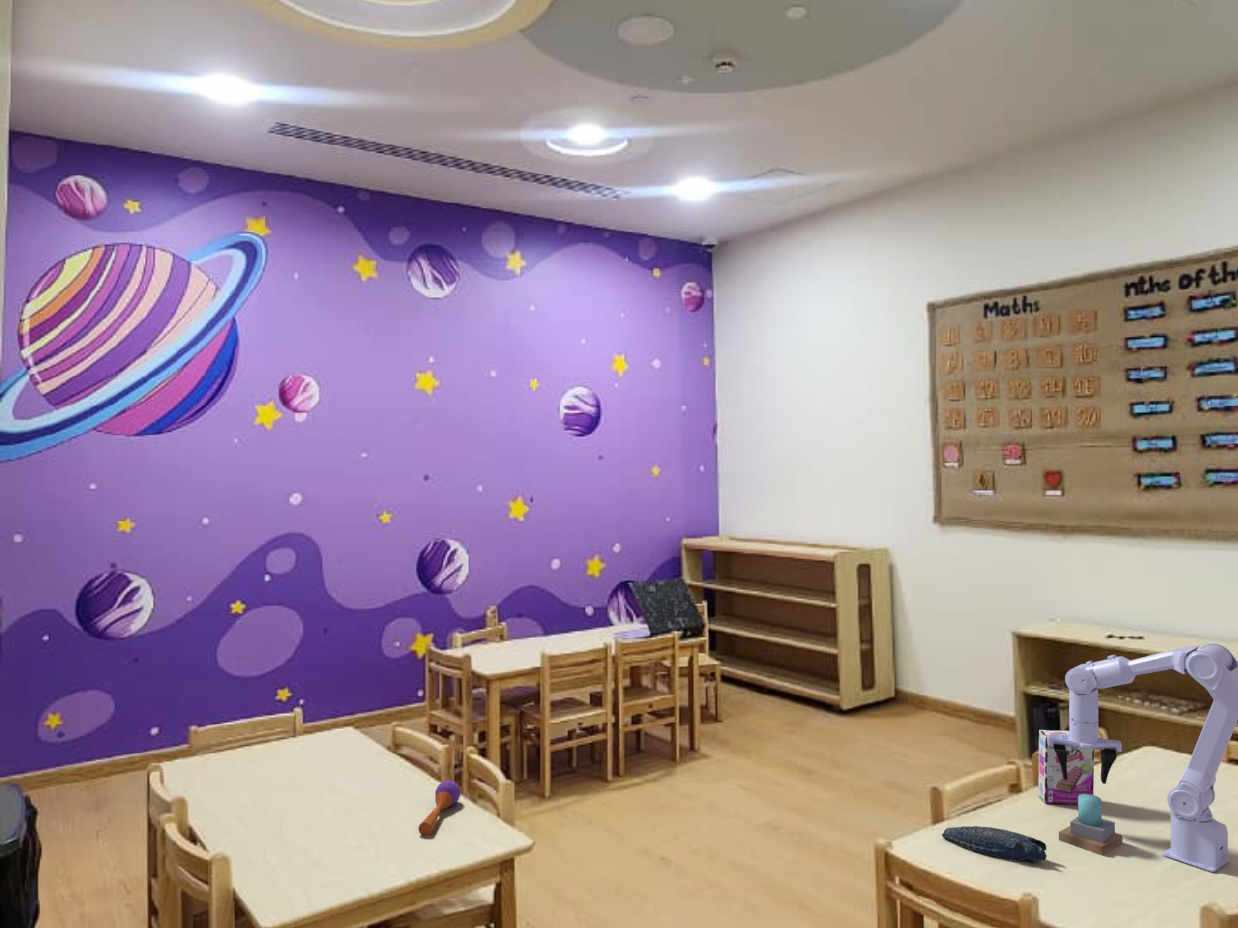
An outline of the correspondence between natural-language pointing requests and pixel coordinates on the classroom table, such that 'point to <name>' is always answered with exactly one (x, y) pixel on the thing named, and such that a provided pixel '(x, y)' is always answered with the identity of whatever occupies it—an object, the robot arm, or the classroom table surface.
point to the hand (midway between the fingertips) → (1084, 780)
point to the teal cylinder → (1089, 810)
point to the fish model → (997, 842)
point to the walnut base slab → (1090, 842)
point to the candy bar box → (1050, 772)
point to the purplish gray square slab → (1093, 830)
